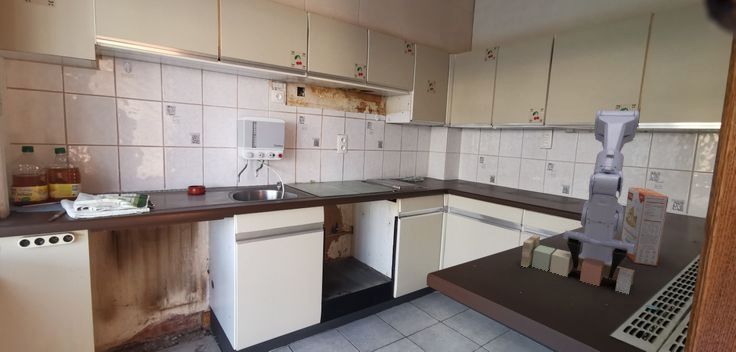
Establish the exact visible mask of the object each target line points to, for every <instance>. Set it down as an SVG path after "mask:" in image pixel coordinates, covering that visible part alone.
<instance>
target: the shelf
mask: <svg viewBox="0 0 736 352" xmlns="http://www.w3.org/2000/svg"><path fill="white" fill-rule="evenodd" d="M540 239H541V235H538V234H533V235H532V236H530V237H528V238H527V239H526V240H525V241H523V243H522V244H523V245H522V251H521V261H520V267H521V266H523V267H522V268H524V267H526V268H525V269H528V268H529V267H530V266H532V261H533V253H534V250H535V249H536V248H537V247H538V246H539V245H540ZM585 259H586V258H582V257H579V261H578V267H577V269H573V263H572V270H575V271H579V272H581V270H582V263H583V261H584V260H585ZM529 265H530V266H529ZM528 266H529V267H528ZM527 267H528V268H527ZM610 269H611V265H610V264H606V263H605V265H604V271H603V278H604V277H605V278H604V279H608V278H609V273H610ZM620 269H624V270H628V271H632V272H633V274H632V280H631V286H633V282H634V276H635V269H630V268H628V267H627V268H626V267H623V266H619V265H618V267H617V268H616V270H615V272H614V274H613V278H612V281H615V280H616V282H617V278H618V274H619V271H620ZM608 280H611V278H609V279H608Z"/></svg>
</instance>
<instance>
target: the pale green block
mask: <svg viewBox="0 0 736 352" xmlns="http://www.w3.org/2000/svg"><path fill="white" fill-rule="evenodd" d="M555 251H556V248H554V247H549V246H545V245H542V244H541V245H540V244H539V246H538V247H537V248H536V249H535V250H534V253H533V261H532V264H531V268H533V267H535V268H534V269H537V268H538V270H540V269H542V270H541V271H544V270H545V271H544V272H547V271H548V270H549V269H550V266H551V259H552V254H553V253H554V252H555ZM549 271H550V270H549ZM549 271H548V272H549Z"/></svg>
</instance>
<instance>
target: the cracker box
mask: <svg viewBox="0 0 736 352" xmlns="http://www.w3.org/2000/svg"><path fill="white" fill-rule="evenodd" d="M627 191H628V192H627V197H626V198H627V199H626V206H625V211H624V212H625V213H624V217H623V223H622V230H621V231H622V233H621V238H620V239H621V240H620V241H622V242H626V243H630V244H634V250H633V254H630V253H627V254H626V256H627V257H628V258H629V259H630V260H631V261H632V262H633V263H634V264H638V265H647V266H652V267H658V262H659V257H660V249H661V244H662V238H663V233H664V226H665V221H666V215H667V209H668V203H669V196H667V195H664V194H662V193H660V192H657V191H655V190H652V189H650V188H641V187H628V190H627Z"/></svg>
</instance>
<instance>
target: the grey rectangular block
mask: <svg viewBox="0 0 736 352" xmlns="http://www.w3.org/2000/svg"><path fill="white" fill-rule="evenodd" d="M632 274H633V272H632V271H628V270H624V269H620V271H619V274H618V278H617V281H616V283H615V284H616V285H615V291H614V292H616V291H619V292H618V293H620V292H622V293H621V294H623V293H626V294H625V295H627V294H628V295H629V293H630V291H631V286H632V285H631V280H632Z"/></svg>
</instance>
